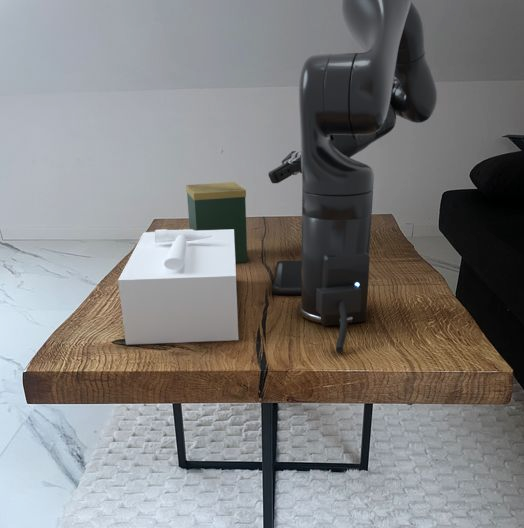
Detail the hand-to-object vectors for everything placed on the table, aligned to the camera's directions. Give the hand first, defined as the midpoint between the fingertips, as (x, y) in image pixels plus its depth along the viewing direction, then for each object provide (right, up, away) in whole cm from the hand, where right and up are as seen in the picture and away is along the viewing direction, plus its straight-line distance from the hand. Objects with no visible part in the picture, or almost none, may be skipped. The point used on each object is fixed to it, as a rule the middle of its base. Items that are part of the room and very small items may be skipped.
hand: (271, 178), depth 108 cm
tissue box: (-13, -25, -19) cm, 34 cm away
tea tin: (-10, -13, +5) cm, 18 cm away
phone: (+4, -19, -8) cm, 21 cm away
